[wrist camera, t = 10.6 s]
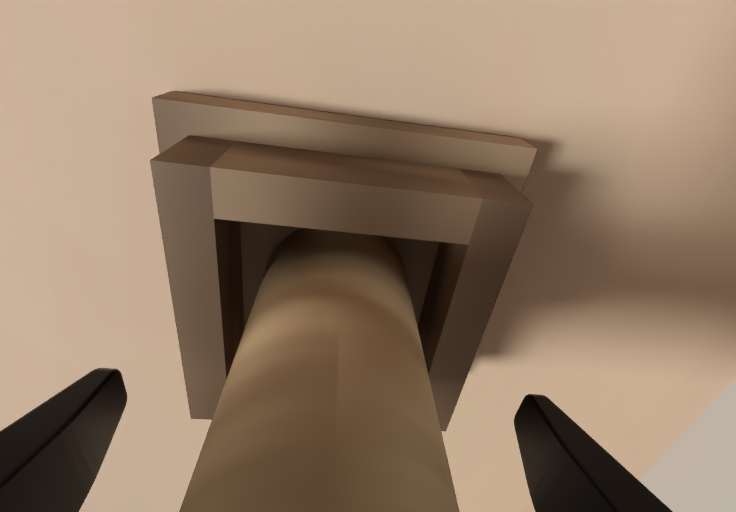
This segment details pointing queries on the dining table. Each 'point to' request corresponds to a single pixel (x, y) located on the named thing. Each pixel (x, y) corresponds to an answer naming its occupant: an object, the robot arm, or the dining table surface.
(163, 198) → the walnut socket holder
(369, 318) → the wooden dowel
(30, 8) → the dining table surface
